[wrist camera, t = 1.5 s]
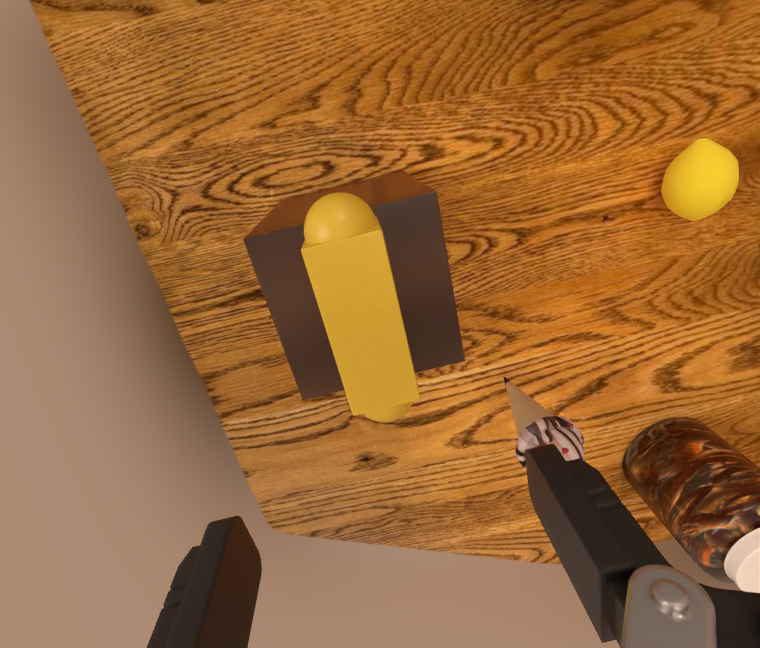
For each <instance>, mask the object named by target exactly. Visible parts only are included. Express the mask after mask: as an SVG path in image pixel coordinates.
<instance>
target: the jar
mask: <svg viewBox="0 0 760 648" xmlns="http://www.w3.org/2000/svg"><path fill="white" fill-rule="evenodd" d="M623 471H624V475H625V477H626V479H627V480H628V482H629V483H630V484H631V486H632V487H633V488H634V489H635V490H636V492H637V493H638V494H639V495H640V497H641V498H642V499H643V500H644V502H645V503H646V504H647V505H648V506H649V508H650V509H651V510H652V511H653V512H654V514H655V515H656V516H657V517H658V519H659V520H660V521H661V522H662V523H663V525H664V526H665V527H666V528H667V529H668V531H669V532H670V533H671V534H672V535H673V537H674V538H675V539H676V540H677V541H678V542H679V544H680V545H681V546H682V547H683V548H684V549H685V551H686V552H687V553H688V554H689V555H690V556H691V557H692V559H693V560H694V561H695V562H696V563H697V564H698V565H699V566H700V567H701V568H702V569H703V570H704V571H705V572H706V573H707V574H708V575H710V576H711V577H713V578H715V579H717V580H719V581H723V582H727V583H735V584H736V585H737V586H738V587H739V588H740V589H741V590H742V591H745V592H755V593H760V468H759V467H758V466H756V465H755V464H754V463H753V462H751V461H750V460H749V459H748V458H746V457H745V456H744V455H743V454H741V453H740V452H739V451H738V450H736V449H735V448H734V447H733V446H731V445H730V444H729V443H728V442H726V441H725V440H724V439H723V438H721V437H720V436H719V435H718V434H716V433H715V432H714V431H712V430H711V429H710V428H709V427H707V426H706V425H704V424H703V423H701V422H699V421H697V420H694V419H689V418H674V419H669V420H665V421H662V422H659V423H657V424H655V425H653V426H651V427H649V428H647V429H646V430H645V431H643V432H642V433H641V434H639V435H638V436H637V437H636V438H635V439H634V441H633V442H632V443H631V444H630V446H629V447H628V449H627V451H626V453H625V456H624V460H623Z"/></svg>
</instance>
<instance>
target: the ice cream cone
mask: <svg viewBox="0 0 760 648" xmlns="http://www.w3.org/2000/svg"><path fill="white" fill-rule="evenodd" d="M504 381H505V385H506V389H507V393H508V397H509V401H510V405H511V409H512V413H513V417H514V421H515V425H516V429H517V433H518V437H519V439H518V443H517V447H516V456H517V459H518V461H519V462H520V463H521V464H522V466H523V467H524V468H526V460H525V450H526V449H529V448H534V447H538V446H542V445H546V444H551V443H553V444H555V445H556V447H557V448H558V450H559V451H560V452H561V454H562V455H563V457H564V458H565V460H566V461H570V460H574V459H578V458H580V459H581V460H583V461H584V449H583V440H584V439H583V436H582V434H581V432H580V430H579V429H578V427H577V426H576V425H575V424H574V423H572V422H571V421H570V420H568V419H567V418H565V417H561V416H554V415H553V414H552V413H550V412H549V411H548V410H546V409H545V408H544V407H543V406H541V405H540V404H539V403H537V402H536V401H535V400H534V399H532V398H531V397H530V396H528V395H527V394H526V393H524V392H523V391H522V390H521V389H519V388H518V387H517V386H515V385H514V384H513V383H512V382H510V381H509V380H508V379H506V378H505V377H504Z"/></svg>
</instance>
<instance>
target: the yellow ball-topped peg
mask: <svg viewBox="0 0 760 648" xmlns="http://www.w3.org/2000/svg"><path fill="white" fill-rule="evenodd" d="M304 237H305V240H304V243H303V246H302V248H301V253H302V256H303V259H304V262H305V265H306V268H307V272H308V275H309V278H310V281H311V284H312V287H313V291H314V294H315V297H316V300H317V303H318V306H319V310H320V313H321V316H322V319H323V322H324V325H325V329H326V332H327V335H328V338H329V341H330V344H331V348H332V351H333V354H334V357H335V360H336V363H337V367H338V370H339V373H340V376H341V379H342V382H343V386H344V389H345V392H346V395H347V398H348V401H349V405H350V408H351V411H352V414H353V416H356V415H360V414H364V415H365V416H366V417H368V418H369V419H371V420H374V421H377V422H392V421H395V420H397V419H399V418H401V417H402V416H404V415H405V414H406V413H407V412H408V411H409V409H410V408H411V406H412V404H413V402H414V401H418V400H420V399H421V397H420V393H419V389H418V384H417V380H416V376H415V371H414V367H413V362H412V358H411V354H410V349H409V345H408V341H407V336H406V332H405V327H404V323H403V319H402V314H401V310H400V306H399V301H398V297H397V293H396V288H395V284H394V279H393V275H392V271H391V266H390V262H389V258H388V253H387V249H386V244H385V240H384V236H383V231H382V228H381V226H380V223H379V221H378V218H377V217H376V216H375V215H374V213H373V211H372V209H371V208H370V207H369V205H368V204H367V203H366V202H364V201H363V200H362V199H361V198H359V197H357V196H355V195H352V194H349V193H342V192H339V193H331V194H328V195H326V196H324V197H322V198H320V199H319V200H318V201H316V202H315V203H314V204H313V206H312V207H311V208H310V210H309V211H308V213H307V215H306V218H305V223H304Z"/></svg>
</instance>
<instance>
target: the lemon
mask: <svg viewBox="0 0 760 648" xmlns="http://www.w3.org/2000/svg"><path fill="white" fill-rule="evenodd" d="M738 183H739V168H738V160H737V159H736V158H735V156H734V155H733V154H732V153H731V151H730V150H728V149H726V148H725V147H723V146H721V145H719V144H717V143H715V142H713V141H711V140H709V139H707V138H698V139H697V140H696V141H695V142H693V143H692V144H691V145H690V146H689V147H687V148H686V149H685V150H684V151H682V152H681V153H680V154H679V155H678V156H676V157H675V158H674V160H673V161H672V162H671V164H670V165H669V166H668V167H667V169H666V171H665V174H664V178H663V183H662V188H661V194H662V196H663V199H664V201H665V204H666V205H667V207H668V208H669V210H670V211H672V212H673V213H675V214H676V215H678V216H679V217H682V218H685V219H687V220H690V221H698V220H701V219H703V218H705V217H708V216H710V215H712V214H714V213H715V212H717V211H718V210H720V209H721V208H722V207H723V206H724V205H725V204H727V203H728V202H729V201H730V200H731V199H732V198H733V196H734V193H735V191H736V189H737V186H738Z"/></svg>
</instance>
